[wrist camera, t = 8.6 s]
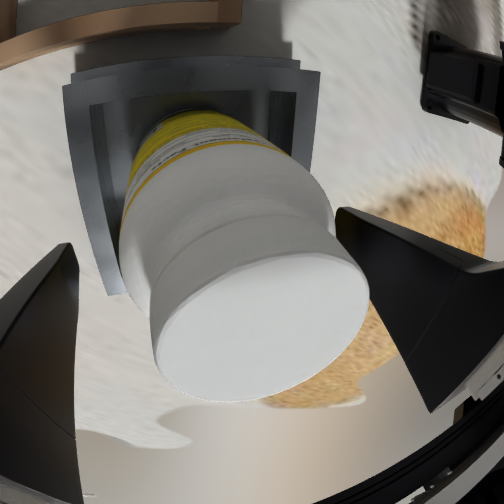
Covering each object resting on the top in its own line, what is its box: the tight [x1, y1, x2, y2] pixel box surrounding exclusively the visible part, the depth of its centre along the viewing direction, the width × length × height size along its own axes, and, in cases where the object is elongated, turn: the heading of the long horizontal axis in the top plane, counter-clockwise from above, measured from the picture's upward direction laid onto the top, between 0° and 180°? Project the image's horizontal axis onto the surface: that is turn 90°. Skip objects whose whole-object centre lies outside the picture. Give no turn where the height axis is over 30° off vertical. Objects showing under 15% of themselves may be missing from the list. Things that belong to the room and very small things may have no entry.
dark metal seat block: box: [62, 56, 320, 296], centre depth 13 cm, size 11×11×4 cm
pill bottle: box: [119, 108, 369, 402], centre depth 10 cm, size 6×6×11 cm
